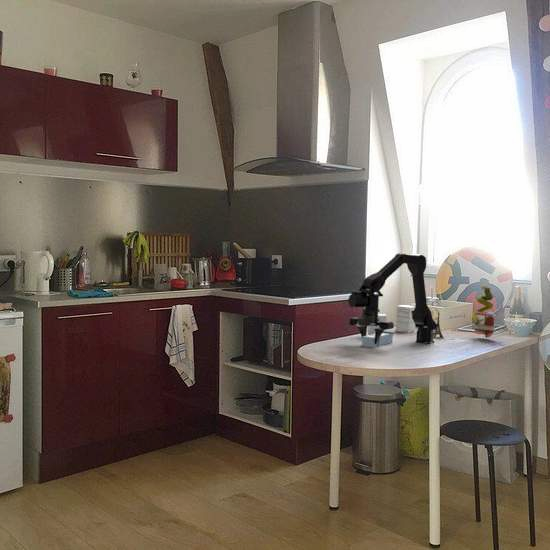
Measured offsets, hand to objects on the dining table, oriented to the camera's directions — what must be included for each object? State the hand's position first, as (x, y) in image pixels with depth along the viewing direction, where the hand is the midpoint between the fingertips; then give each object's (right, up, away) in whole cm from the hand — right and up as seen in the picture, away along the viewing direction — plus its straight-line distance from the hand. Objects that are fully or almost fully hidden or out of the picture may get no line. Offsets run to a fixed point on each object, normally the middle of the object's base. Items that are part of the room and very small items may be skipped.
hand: (370, 343), depth 271 cm
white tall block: (+24, +1, +45) cm, 51 cm away
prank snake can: (+57, -1, +30) cm, 64 cm away
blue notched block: (+6, -1, +7) cm, 9 cm away
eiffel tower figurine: (+35, -1, +28) cm, 45 cm away
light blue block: (0, -1, 0) cm, 1 cm away
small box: (+7, 0, +24) cm, 25 cm away
